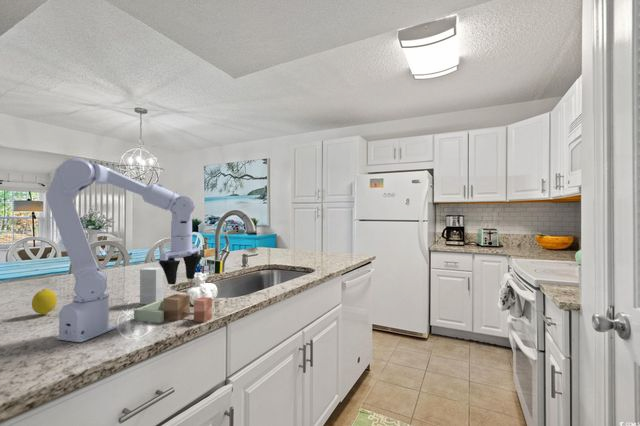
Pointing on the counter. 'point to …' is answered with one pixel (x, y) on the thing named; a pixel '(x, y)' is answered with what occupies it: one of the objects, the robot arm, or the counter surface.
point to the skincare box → (151, 285)
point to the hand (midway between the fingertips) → (181, 281)
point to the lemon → (44, 301)
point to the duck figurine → (201, 288)
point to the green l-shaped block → (150, 312)
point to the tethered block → (187, 308)
